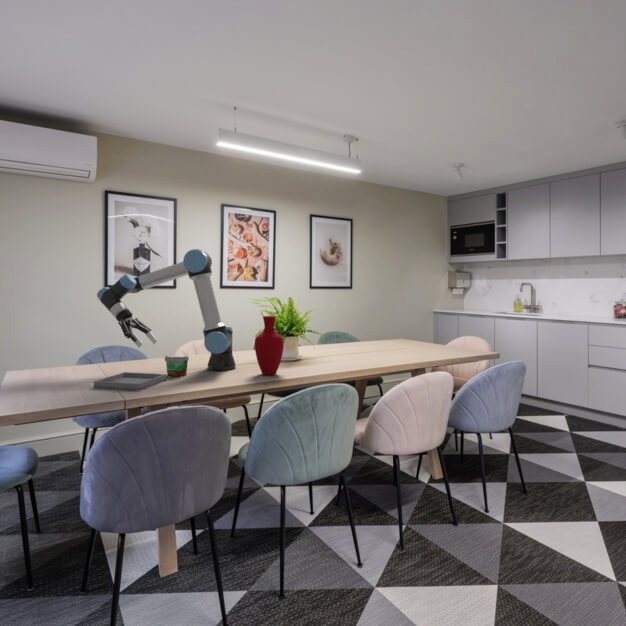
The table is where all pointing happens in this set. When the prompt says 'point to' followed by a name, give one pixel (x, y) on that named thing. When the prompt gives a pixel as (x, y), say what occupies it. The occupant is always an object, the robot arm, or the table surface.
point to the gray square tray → (130, 381)
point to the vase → (269, 347)
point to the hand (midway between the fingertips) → (148, 344)
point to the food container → (176, 366)
